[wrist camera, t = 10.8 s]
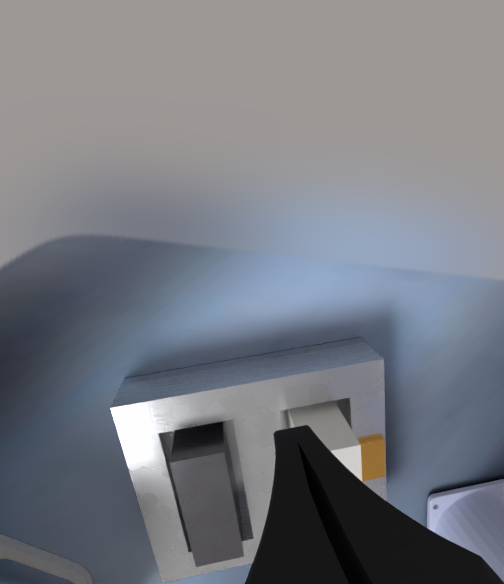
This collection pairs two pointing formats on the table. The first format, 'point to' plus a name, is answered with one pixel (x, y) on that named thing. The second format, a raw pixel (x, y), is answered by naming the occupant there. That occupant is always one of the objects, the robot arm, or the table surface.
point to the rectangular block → (329, 432)
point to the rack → (235, 444)
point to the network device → (43, 561)
